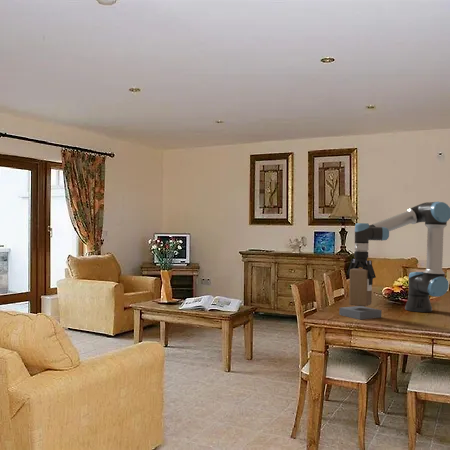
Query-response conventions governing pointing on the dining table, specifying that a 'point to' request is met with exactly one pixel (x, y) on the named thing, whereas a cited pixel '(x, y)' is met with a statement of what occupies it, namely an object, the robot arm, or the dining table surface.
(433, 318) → the dining table surface
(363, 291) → the wooden block
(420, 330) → the dining table surface
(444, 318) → the dining table surface
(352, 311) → the charcoal plinth
